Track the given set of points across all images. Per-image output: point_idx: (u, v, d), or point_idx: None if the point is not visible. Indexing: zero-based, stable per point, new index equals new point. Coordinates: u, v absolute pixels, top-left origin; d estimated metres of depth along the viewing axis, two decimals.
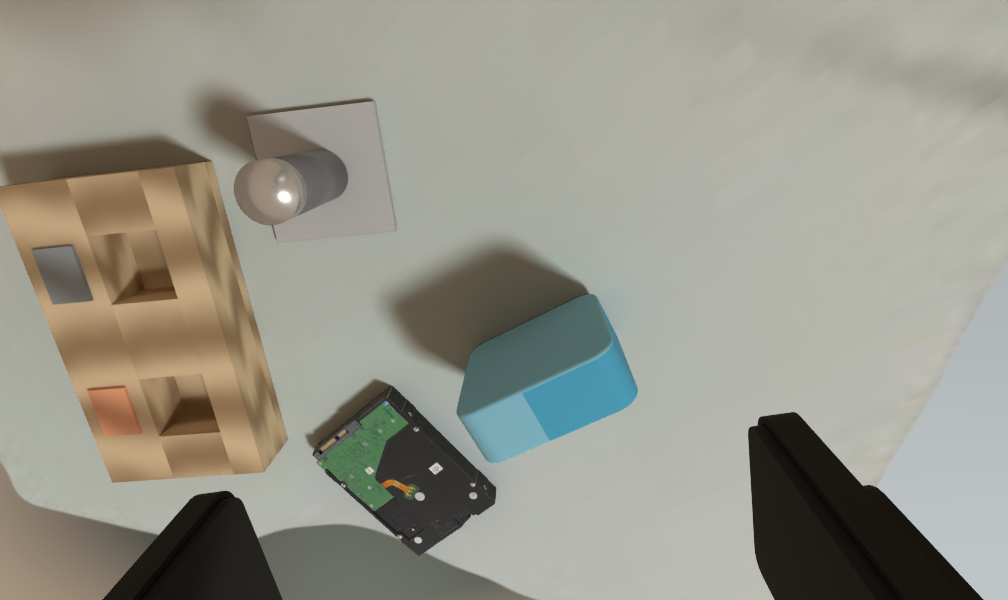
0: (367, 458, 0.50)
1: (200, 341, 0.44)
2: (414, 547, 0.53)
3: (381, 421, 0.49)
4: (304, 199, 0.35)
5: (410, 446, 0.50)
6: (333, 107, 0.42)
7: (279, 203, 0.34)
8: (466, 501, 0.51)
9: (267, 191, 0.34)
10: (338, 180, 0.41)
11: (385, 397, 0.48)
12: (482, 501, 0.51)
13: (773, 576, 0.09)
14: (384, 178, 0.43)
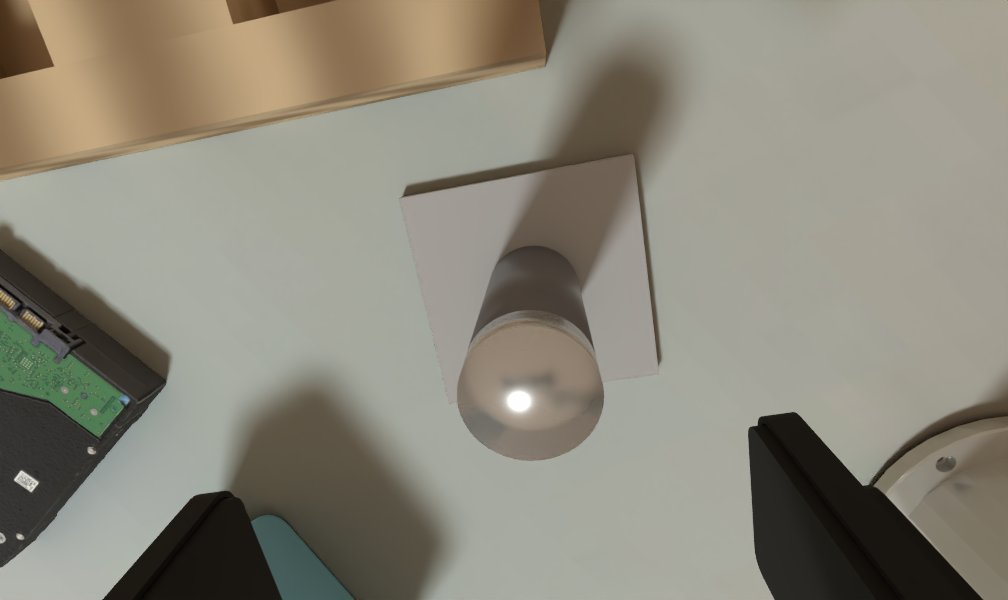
0: None
1: (138, 72, 0.18)
2: None
3: (85, 392, 0.26)
4: None
5: (53, 440, 0.27)
6: (649, 312, 0.24)
7: (509, 423, 0.15)
8: None
9: (534, 400, 0.15)
10: None
11: (136, 400, 0.26)
12: None
13: (773, 576, 0.09)
14: None
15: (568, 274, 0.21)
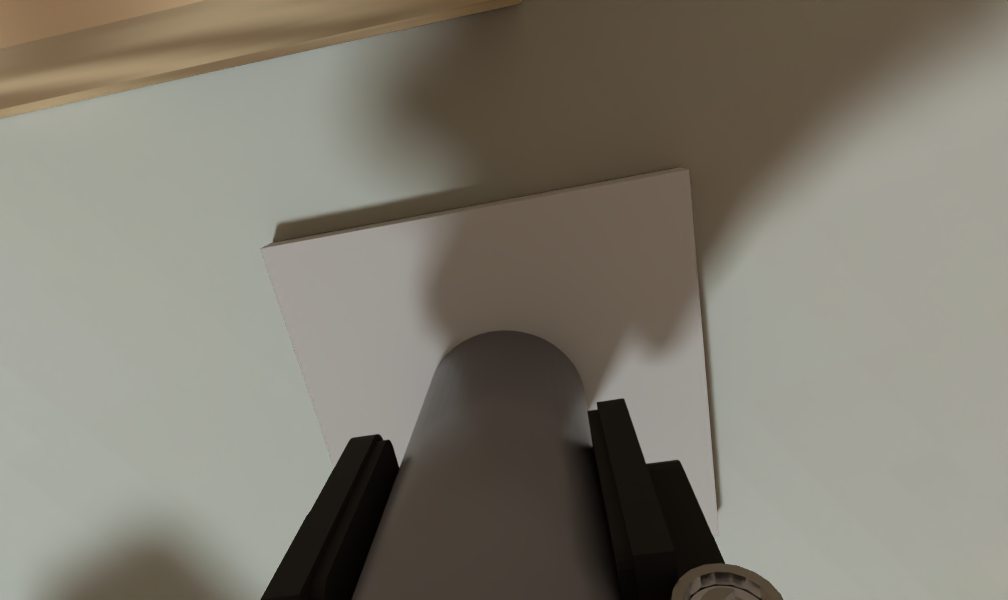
0: None
1: None
2: None
3: None
4: None
5: None
6: (707, 440, 0.14)
7: None
8: None
9: None
10: None
11: None
12: None
13: None
14: None
15: (569, 406, 0.11)
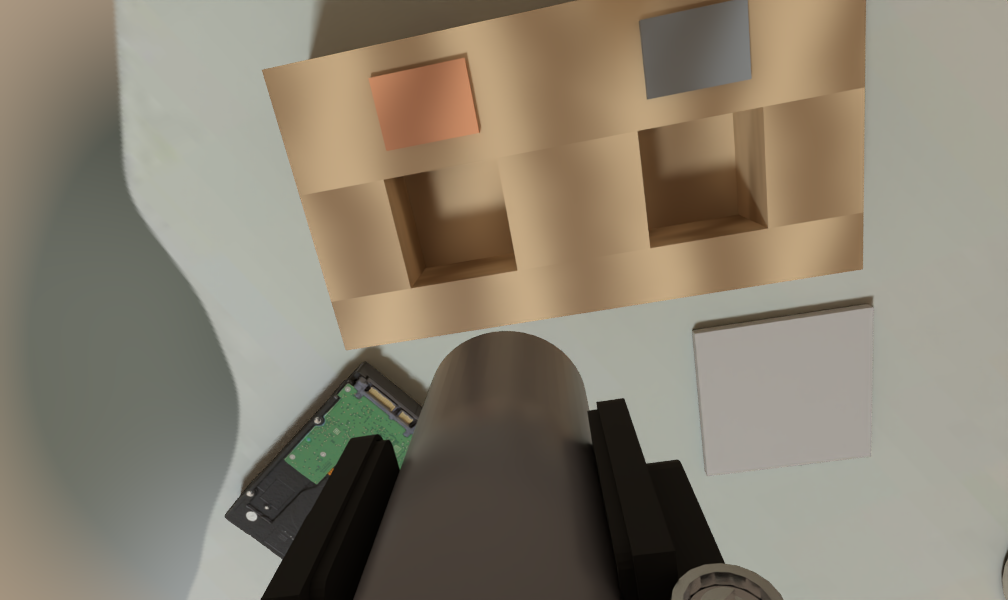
0: None
1: (576, 275, 0.27)
2: (237, 512, 0.36)
3: None
4: None
5: None
6: (870, 413, 0.33)
7: None
8: None
9: None
10: None
11: None
12: None
13: None
14: (775, 465, 0.35)
15: (570, 407, 0.11)
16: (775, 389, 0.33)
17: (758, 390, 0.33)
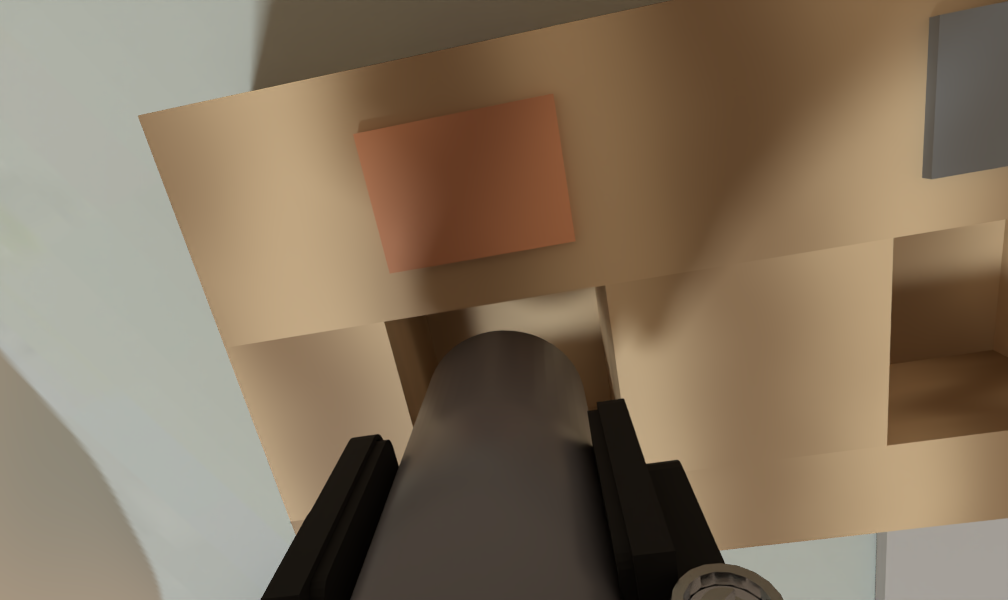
0: None
1: (741, 487, 0.15)
2: None
3: None
4: None
5: None
6: None
7: None
8: None
9: None
10: None
11: None
12: None
13: None
14: None
15: (569, 406, 0.11)
16: None
17: None
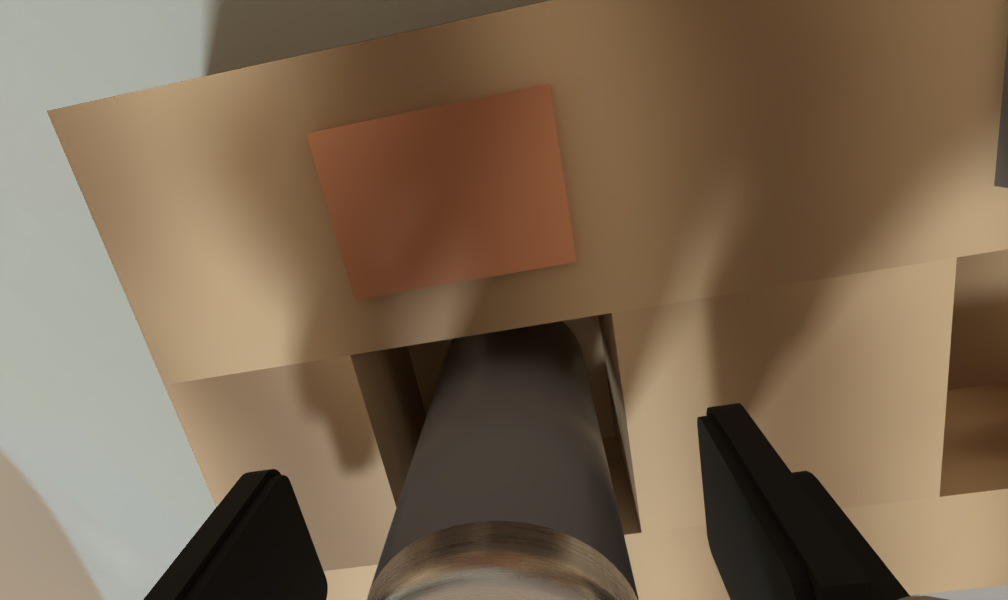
0: None
1: None
2: None
3: None
4: None
5: None
6: None
7: None
8: None
9: None
10: None
11: None
12: None
13: (720, 558, 0.09)
14: None
15: (570, 363, 0.13)
16: None
17: None
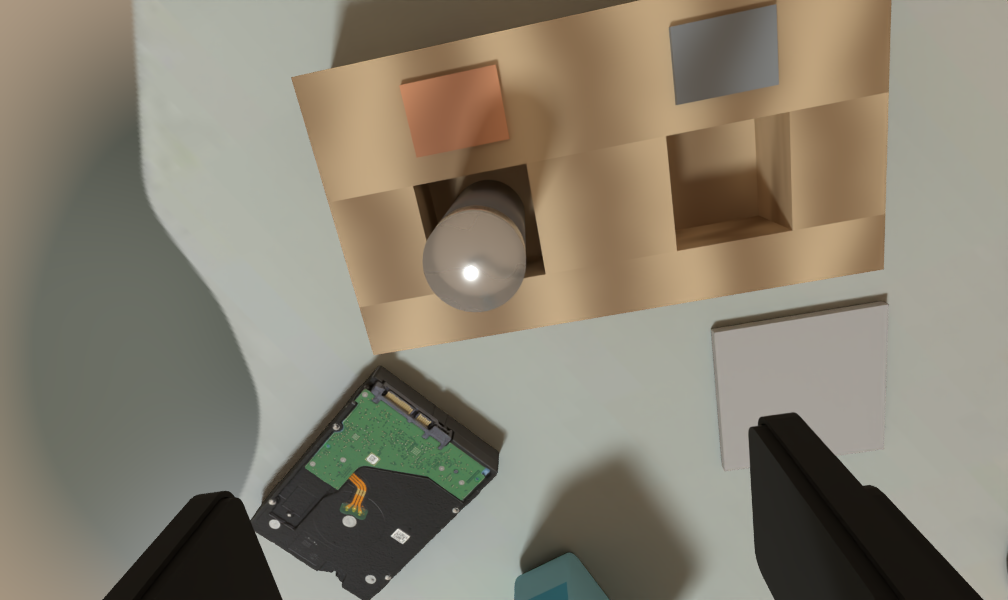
0: (392, 455, 0.35)
1: (603, 278, 0.27)
2: (260, 520, 0.37)
3: (457, 469, 0.35)
4: None
5: (427, 505, 0.36)
6: (883, 407, 0.34)
7: (460, 283, 0.21)
8: (358, 573, 0.38)
9: (477, 266, 0.21)
10: None
11: (496, 471, 0.35)
12: (365, 589, 0.38)
13: (773, 576, 0.09)
14: None
15: (512, 196, 0.28)
16: (792, 385, 0.34)
17: (776, 387, 0.34)
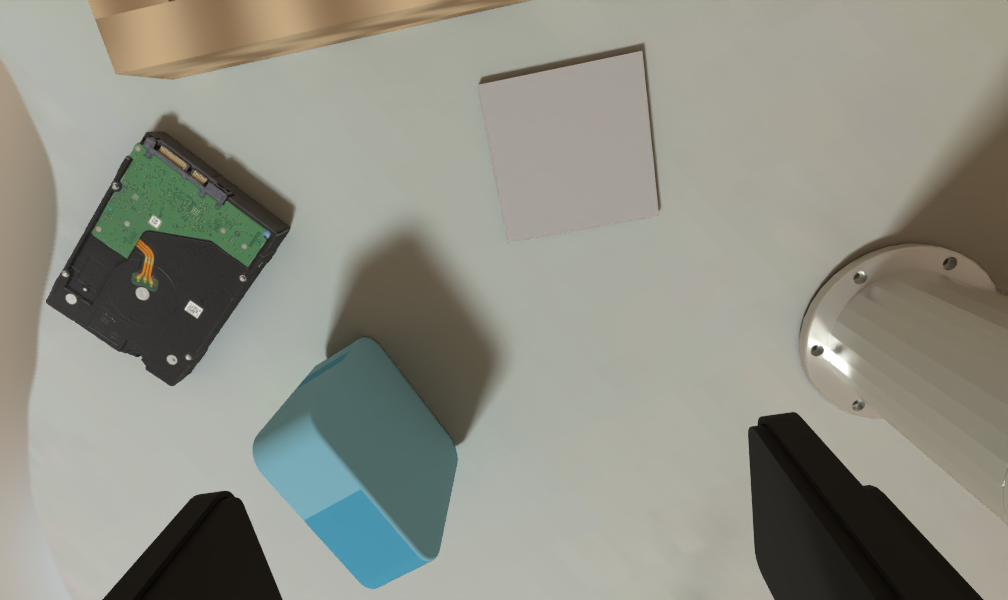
0: (173, 217, 0.35)
1: None
2: (56, 295, 0.38)
3: (238, 231, 0.36)
4: None
5: (214, 273, 0.37)
6: (652, 168, 0.35)
7: None
8: (159, 353, 0.39)
9: None
10: None
11: (275, 233, 0.36)
12: (168, 371, 0.39)
13: (773, 576, 0.09)
14: (570, 229, 0.36)
15: None
16: (561, 144, 0.34)
17: (545, 146, 0.34)
